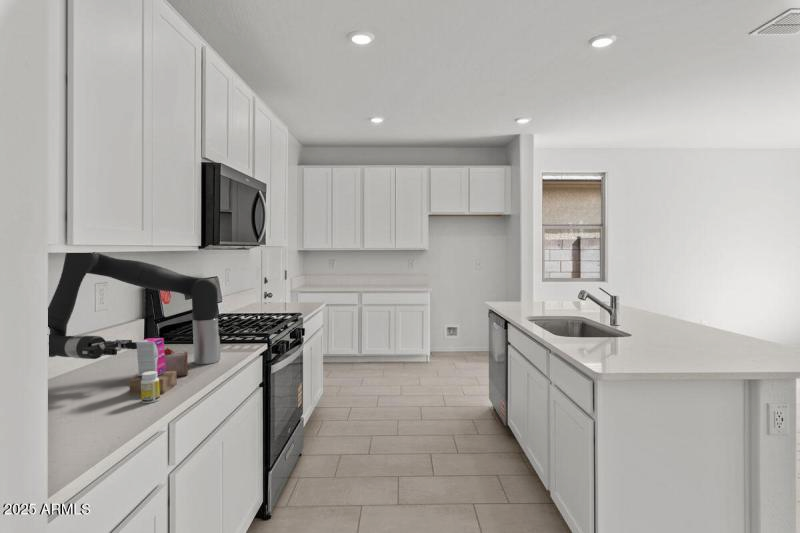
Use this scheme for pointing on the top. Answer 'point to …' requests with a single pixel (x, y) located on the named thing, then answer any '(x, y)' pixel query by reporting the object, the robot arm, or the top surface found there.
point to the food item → (176, 362)
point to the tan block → (165, 383)
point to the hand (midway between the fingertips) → (127, 348)
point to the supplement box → (151, 356)
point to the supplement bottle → (150, 387)
